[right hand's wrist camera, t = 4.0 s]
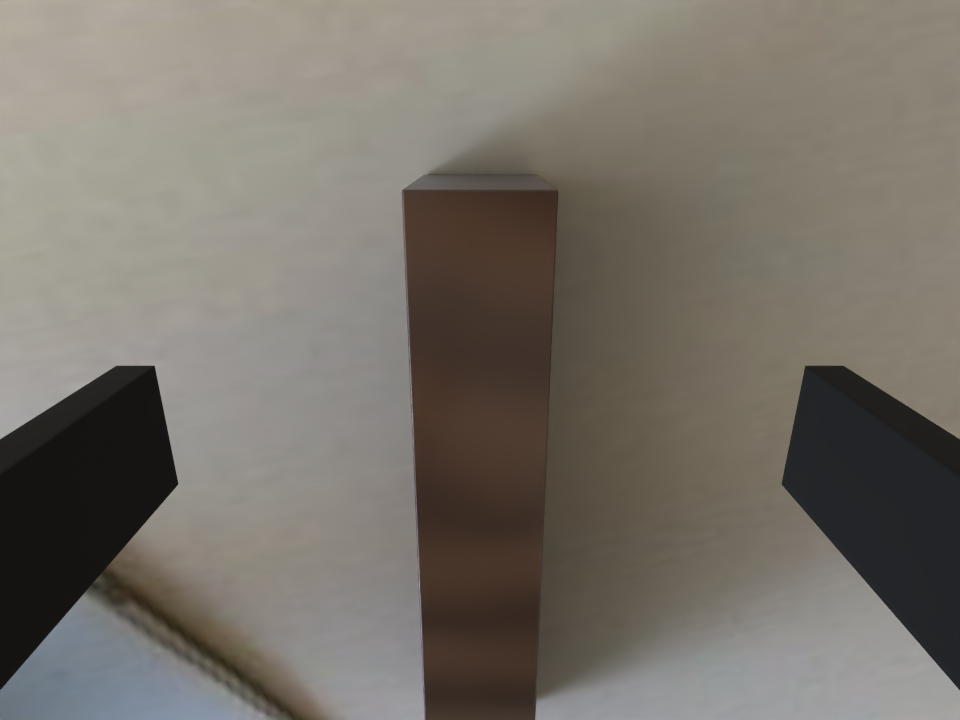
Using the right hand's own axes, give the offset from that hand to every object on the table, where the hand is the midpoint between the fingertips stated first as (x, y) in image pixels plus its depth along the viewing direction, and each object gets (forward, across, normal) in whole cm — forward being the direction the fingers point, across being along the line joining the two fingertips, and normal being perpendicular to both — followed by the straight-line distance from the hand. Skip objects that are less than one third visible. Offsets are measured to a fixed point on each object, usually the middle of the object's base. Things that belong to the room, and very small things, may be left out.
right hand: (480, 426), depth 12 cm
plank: (+17, 0, +12) cm, 21 cm away
